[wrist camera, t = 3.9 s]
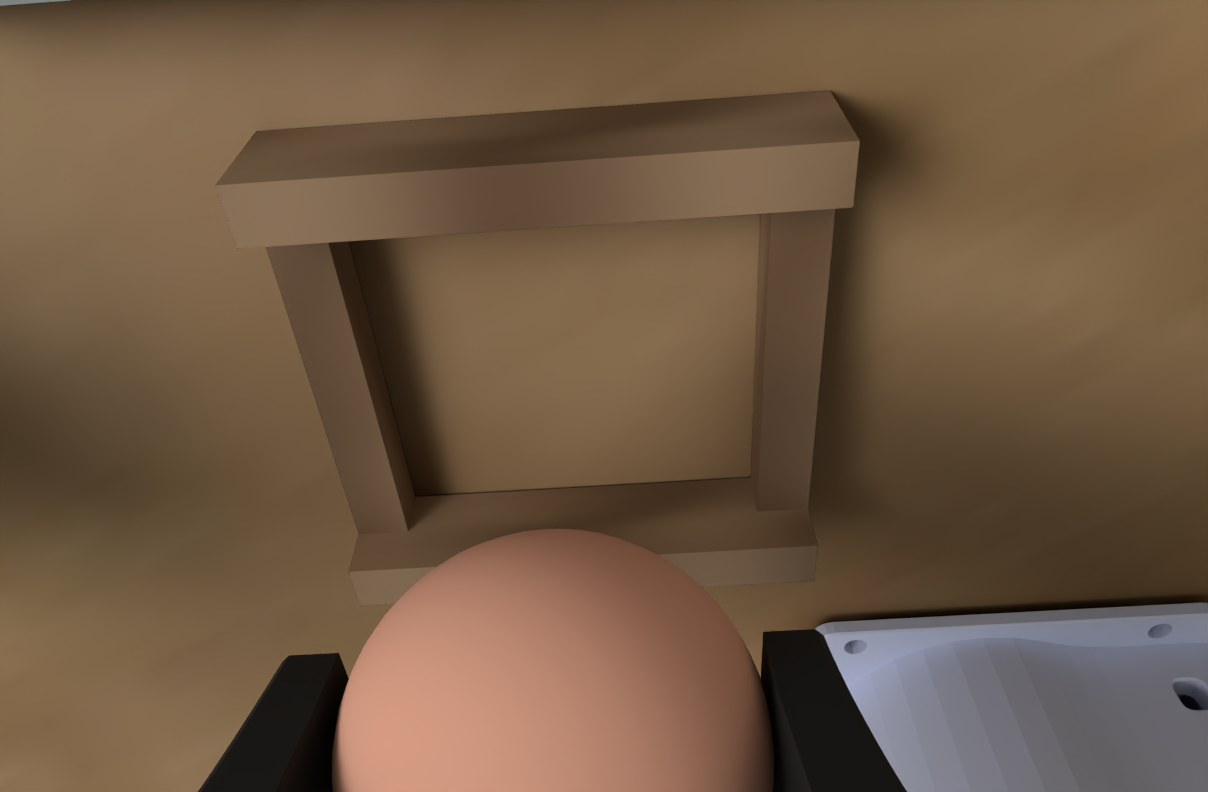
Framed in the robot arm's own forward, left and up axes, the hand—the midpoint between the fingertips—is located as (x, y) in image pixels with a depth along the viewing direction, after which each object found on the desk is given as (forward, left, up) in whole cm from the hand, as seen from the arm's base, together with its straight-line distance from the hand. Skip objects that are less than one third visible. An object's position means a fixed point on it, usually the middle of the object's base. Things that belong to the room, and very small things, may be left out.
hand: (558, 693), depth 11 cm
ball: (0, 0, +1) cm, 1 cm away
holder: (0, 0, -7) cm, 7 cm away
